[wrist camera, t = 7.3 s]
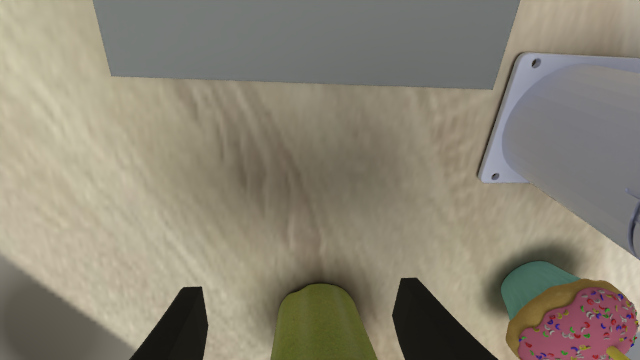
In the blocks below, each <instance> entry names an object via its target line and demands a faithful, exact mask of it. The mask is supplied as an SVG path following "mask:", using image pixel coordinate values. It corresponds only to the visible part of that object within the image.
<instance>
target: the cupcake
mask: <svg viewBox="0 0 640 360" xmlns="http://www.w3.org/2000/svg"><path fill="white" fill-rule="evenodd" d="M501 295H502V297H503V300H504V302H505V305H506V308H507V311H508V315H509V319H510V322H509V324H508V329H507V334H506V342H507V344H508V346H509V347H510V349H511V350H512V351H513V353H514V354H515V355H516V356H517V357H518V358H519V359H520V360H630V359H629V358H628V357H626V356H625V354H626V353H627V352H628V351H629V348H630V347H632V346H633V345H634V342H635V341H634V340H635V339H636V338H637V337H635V335H636V332H637V331H638V327H639V326H640V325H639V324H638V320H636V315H637V312H635V311H636V310H635V308H634V304H633V303H632V302H630V301H629V300H628V299H627V297H626V296H625V295H624V294H623V293H622V292H620V291H619V290H618V289H617V288H616V287H614V286H613V285H612V284H610V283H608V282H606V281H602V280H599V281H593V280H589V279H581V278H578V277H576V276H574V275H571V274H569V273H567V272H565V271H564V270H562V269H560V268H558V267H556V266H554V265H553V264H551V263H548V262H545V261H534V262H529V263H526V264H524V265H521V266H520V267H518V268H516V269H515V270H513V271H512V272H511V273H510V274H509V275H508V276H507V277H506V278H505V279H504V281H503V283H502V286H501Z"/></svg>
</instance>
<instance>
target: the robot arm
mask: <svg viewBox="0 0 640 360" xmlns="http://www.w3.org/2000/svg"><path fill="white" fill-rule="evenodd" d="M535 59H536V63H535V65H533V66H532V62H533V60H535ZM495 173H496V174H495ZM493 174H495V176H493V177H492V175H493ZM478 178H479V180H481V181H482V182H483V183H532V184H533V185H535V186H536V187H537V188H539V189H540V190H542V191H543V192H545V193H546V194H547V195H549V196H550V197H552V198H553V199H554V200H556V201H557V202H559V203H560V204H561V205H563V206H564V207H566V208H567V209H568V210H570V211H571V212H573V213H574V214H575V215H577V216H578V217H580V218H581V219H583V220H584V221H585V222H587V223H588V224H590V225H591V226H592V227H594V228H595V229H597V230H598V231H599V232H601V233H602V234H604V235H605V236H606V237H608V238H609V239H611V240H612V241H613V242H615V243H616V244H618V245H619V246H620V247H622V248H623V249H625V250H626V251H628V252H629V253H630V254H632V255H633V256H635V257H636V258H637V259H639V260H640V58H630V57H610V56H591V55H571V54H552V53H532V52H525V53H522V54H521V55H519V57H518V58H517V59H516V61H515V64H514V67H513V70H512V73H511V76H510V80H509V83H508V86H507V89H506V92H505V95H504V98H503V101H502V104H501V107H500V110H499V113H498V116H497V119H496V122H495V125H494V128H493V131H492V134H491V137H490V140H489V143H488V146H487V149H486V152H485V155H484V158H483V161H482V164H481V168H480V171H479V174H478ZM392 317H393V321H394V325H395V330H396V333H397V337H398V341H399V344H400V347H401V350H402V353H403V355H404V358H405V360H498V359H497V358H496V357H495V356H494V355H492V354H491V353H490V352H489V351H488V350H487V349H486V348H485V347H484V346H483V345H481V344H480V343H479V342H478V341H477V340H476V339H475V338H474V337H473V336H472V335H471V334H470V333H469V332H468V331H467V330H466V329H465V328H464V327H463V326H462V325H461V324H460V323H459V322H458V321H457V320H456V319H455V318H454V317H453V316H452V315H451V314H450V313H449V312H448V311H447V310H446V309H445V308H444V307H443V305H442V304H441V303H440V302H439V301H438V300H437V299H436V298H435V297H434V296H433V295H432V294H431V293H430V291H429V290H428V289H427V288H426V287H425V286H424V285H423V284H422V283H421V282H420V281H419V280H418V279H417V278H401V281H400V285H399V289H398V293H397V297H396V301H395V305H394V309H393V314H392ZM207 331H208V321H207V315H206V309H205V303H204V297H203V291H202V287H183V288H182V289H181V290H180V292H179V293H178V295H177V296H176V298H175V299H174V301H173V302H172V304H171V305H170V306H169V308H168V309H167V311H166V312H165V314H164V315H163V316H162V318H161V319H160V321H159V322H158V323H157V325H156V326H155V327H154V329H153V330H152V331H151V333H150V334H149V335H148V337H147V338H146V339H145V341H144V342H143V343H142V345H141V346H140V347H139V348H138V350H137V351H136V352H135V353H134V355H133V356H132V357H131V358H130V359H129V360H203V356H204V350H205V344H206V338H207Z"/></svg>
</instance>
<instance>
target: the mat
mask: <svg viewBox="0 0 640 360" xmlns="http://www.w3.org/2000/svg"><path fill="white" fill-rule="evenodd" d="M519 3H520V0H93V4H94V8H95V12H96V16H97V20H98V24H99V28H100V32H101V36H102V40H103V44H104V48H105V52H106V56H107V61H108V65H109V69H110V73H111V76H121V77H149V78H178V79H206V80H235V81H263V82H292V83H320V84H349V85H377V86H406V87H434V88H463V89H491V90H493V87H494V84H495V81H496V77H497V74H498V71H499V68H500V64H501V61H502V58H503V55H504V51H505V48H506V45H507V42H508V39H509V35H510V32H511V29H512V26H513V22H514V19H515V16H516V13H517V10H518V6H519Z"/></svg>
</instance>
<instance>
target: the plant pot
mask: <svg viewBox="0 0 640 360" xmlns="http://www.w3.org/2000/svg"><path fill="white" fill-rule="evenodd" d="M271 360H378V359H377V357H376V354H375V352H374V350H373V347H372V345H371V342H370V340H369V337H368V335H367V333H366V330H365V328H364V326H363V323H362V321H361V318H360V316H359V313H358V311H357V309H356V306H355V303H354V301H353V300H352V298H351V297H350V296H349V295H348V293H347V292H346V291H345V290H344V289H342V288H340V287H337V286H334V285H330V284H311V285H308V286H306V287H305V288H303V289H302V290H300V291H298V292H295V293H290V294H289V295H288V296H287V297H286V298H285V299H284V300H283V301H282V303H281V305H280V308H279V312H278V318H277V324H276V330H275V336H274V342H273V348H272V354H271Z"/></svg>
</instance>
